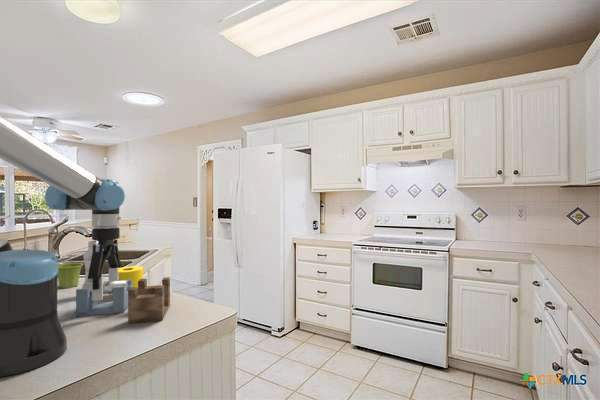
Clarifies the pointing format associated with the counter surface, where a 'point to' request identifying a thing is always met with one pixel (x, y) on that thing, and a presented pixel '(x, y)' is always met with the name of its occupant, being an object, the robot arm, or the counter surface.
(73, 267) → the plant pot
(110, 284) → the steel axle
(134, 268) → the yellow hollow cylinder
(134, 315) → the bearing stand
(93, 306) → the blue notched cradle
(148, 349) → the counter surface
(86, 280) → the metal bottle
